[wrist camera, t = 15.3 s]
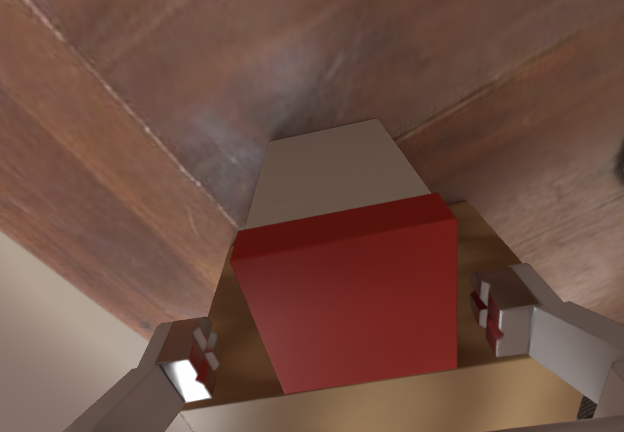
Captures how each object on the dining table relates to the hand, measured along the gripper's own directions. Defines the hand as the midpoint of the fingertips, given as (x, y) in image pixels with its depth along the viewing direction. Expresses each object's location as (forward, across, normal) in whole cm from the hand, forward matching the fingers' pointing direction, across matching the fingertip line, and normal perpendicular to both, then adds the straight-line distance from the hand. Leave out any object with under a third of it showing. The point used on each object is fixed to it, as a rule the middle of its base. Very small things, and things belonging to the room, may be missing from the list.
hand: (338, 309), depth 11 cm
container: (+4, 0, +3) cm, 5 cm away
